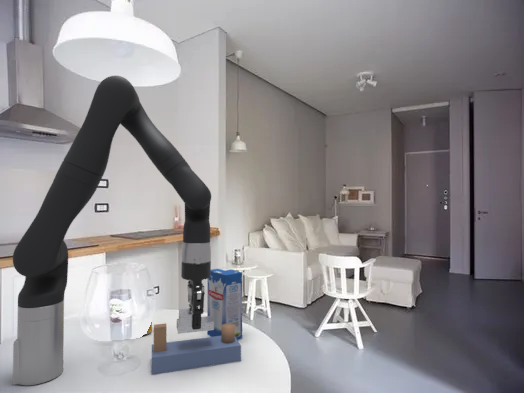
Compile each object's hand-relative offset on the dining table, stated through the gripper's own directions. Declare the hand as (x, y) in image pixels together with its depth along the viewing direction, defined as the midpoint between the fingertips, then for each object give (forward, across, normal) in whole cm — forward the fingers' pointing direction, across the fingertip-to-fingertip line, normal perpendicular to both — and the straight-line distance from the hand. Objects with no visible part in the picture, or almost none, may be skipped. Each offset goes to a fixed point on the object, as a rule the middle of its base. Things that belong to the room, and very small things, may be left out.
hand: (195, 324), depth 86 cm
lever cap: (+1, 0, 0) cm, 1 cm away
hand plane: (+9, 0, 0) cm, 9 cm away
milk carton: (+9, -13, +11) cm, 19 cm away
